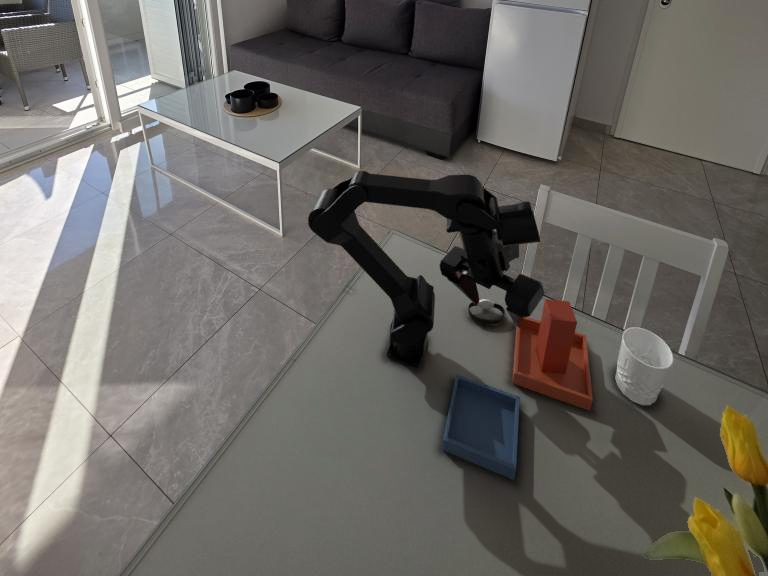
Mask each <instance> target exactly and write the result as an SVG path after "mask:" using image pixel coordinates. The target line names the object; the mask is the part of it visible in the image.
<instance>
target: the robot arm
mask: <svg viewBox="0 0 768 576" xmlns="http://www.w3.org/2000/svg"><path fill="white" fill-rule="evenodd" d="M498 202H499V201H498V198H497V196H496V195H494V194H493V193H492V192H491V191H489V190H488V189H487V188H485V187H484V185H483V184H482V182H481V181H480V180H479V179H478V177H476V176H474V175H472V174H449V175H446V176H442V177H440V178H436V179H427V178H426V179H425V178H416V177H406V176H399V175H388V174H379V173H378V174H377V173H369V172H368V171H367V170H358V171H357V172H355V173H354V174H352V175H351V176H350V177H348V178H345V179H343V180H341V181H339V182H338V183H337V184H336V185H334V186H333V187H332V188H326V189H324V190H322V191H321V192H319V194H318V196H317V199H316V201H315V203H314V205H313V206H312V208H311V211H310V212H309V213H308V214H309V215H308V217H307V225H308V227H309V229H310V231H312V233H314V234H315V235H316V236H317V237H319V238H320V239H321V240H322V241H324V242H325V243H327V244H331V245H336V246H340V247H341V248H342V249H343V250H344V251H345V252H346V253H347V254H348V255H349V256H350V257H351V258H352V259H353V261H354V262H356V264H357V265H358V266H359V267H360V268H361V269H362V270H363V271H364V272H365V273H366V274H367V276H369V278H370V279H371V280H373V282H374V283H375V284H376V285H377V286H378V287H379V288H380V289H381V290H382V291H383V293H385V295H387V296H388V298H389V299H390V301H391V304H392V307H393V309H394V310H393V311H394V312H393V314H392V315H393V316H392V321H391V322H390V326H389V327H390V328H389V345H388V348H387V350H386V353H385V355H386V357H387V358H388V359H391V360H393V361H397V362H399V363H402V364H405V365H408V366H409V367H413V368H418V367H420V362H421V359H423V358H424V356H425V352H426V349H427V342H428V333H430V332H431V331H432V330H433V329H434V325H435V308H436V307H435V305H436V294H435V291H434V289H435V288H434V286H433V285H432V284H431V283H429V282H428V281H427V280H426V279H425V277H424V276H423V275H422V274H419V275H418V276H417V277H412V276H408V275H407V274H405V272H404V271H403V270H402V269H401V268H400V267H399V266H398V265H397V264H396V262H395V261H394V260H393V259H392V258H391V257H390V256H389V255H388V254H387V252H386V251H384V250H383V248H381V246H380V245H379V244H378V243H377V242H376V241H375V239H374V238H373V237H372V236H370V235H369V233H368V232H367V231H366V230H365V229H364V228H363V227H362V226H361V224H360V223H359V219H358V217H357V214H356V210H357V208H359V207H360V206H361V205H363V204H365V203H371V204H377V205H378V204H380V205H388V206H395V207H396V206H398V207H404V208H413V209H421V210H429V211H432V212H436V213H437V214H439V215H440V216H442V217H443V218H445V219H446V228H445V229H446V230H445V231H446V233H448V234H451V233H459V237H460V241H461V244H462V247H460V246H456V245H455V246H453V247H452V248H451V249H450V250H449V251H448V252H447V253H446V255H445V256H443V258H442V259H441V260H440V262H439V270H440V273H441V276H443V277H445V278H446V279H447V281H448V282H450V283H452V285H454V286H455V287H456V288H457V289H458V290H459V291H460V292H462V294H464V295H465V296H466V297H467V298H468V299H469V300H470V302H471V303H472V302H473V303H474V304H475V305H477V304H478V303H479V300H480V295H479V290H478V286H477V285H479V286H482V287H484V288H486V289H487V290H491V288H492V287H493V286H495V287H496V288H499V289H501V290H502V291H505V296H504V302H505V305H506V306H507V307H505V310H506V312H507V313H508V315H509V316H510V318H511V320H512V322H513V323H514V325H515V327H516V326H517V327H518V328H520V327H521V325H522V323H523V319H524V317H527V318H530V317H531V315H532V314H533V312H534V311H535V309H536V308H537V307H538V305H539V303H540V302H541V300H542V299H543V297H544V296H545V289H544V286H543V283H542V281H540V280H537V279H535V278H533V277H531V276H529V275H526V274H523V273H519V274H518V275H517V277H516V278H513V277H511V276H509V275H507V274H504V273H505V272H508V271H509V270H510V268H511V265H510V263H511V262H512V261H514V260H515V259H518V258H520V245H526V244H527V245H528V244H533V243H541V237H540V233H539V229H538V226H537V221H536V217H535V214H534V211H533V208H532V205H531V202H530V201H521V202H518V203H515V204H514V203H513V204H508V205H501V206H500V205H499V203H498ZM504 271H505V272H504Z"/></svg>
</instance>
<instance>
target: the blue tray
mask: <svg viewBox="0 0 768 576" xmlns="http://www.w3.org/2000/svg"><path fill="white" fill-rule="evenodd" d="M520 398H521V397H520V396H519V395H515V394H513V393H511V392H507V391H505V390H502V389H499V388H497V387H494V386H492V385H489V384H485V383H482V382H480V381H477V380H475V379H471V378H469V377H465V376H463V375H460V374H455V378H454V382H453V388H452V393H451V398H450V404H449V409H448V414H447V417H446V424H445V428H444V434H443V438H442V439H443V440H442V446H441V447H442V448H441V450H442V451H444V452H445V453H448V454H451V455H453V456H455V457H458V458H459V459H460V458H461V459H462V460H465V461H467V462H470V463H472V464H475V465H477V466H479V467H482V468H484V469H487V470H489V471H491V472H494V473H496V474H498V475H501V476H503V477H506V478H508V479H510V480H512V481H514V480H515V477H516V473H517V460H518V458H517V457H518V442H519V440H518V438H519V420H520V400H521V399H520Z"/></svg>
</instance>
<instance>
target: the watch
mask: <svg viewBox="0 0 768 576" xmlns="http://www.w3.org/2000/svg"><path fill="white" fill-rule="evenodd" d="M473 307H479V308H480V309H482V310H483V309H484V310H489V309H492V308H494V309H497V310H499V311H500V313H501V314H502V317H499V318H498V319H487V318H486V319H485V318H480V317H478V316H476V315H474V314H473V313H472V311H471V308H473ZM505 310H506V309H505V308H504V307H503V305H502V304H499V303H495V302H493V301H492V300H491V299H488V298H482V299H479V303H478V304H477V305H475V304H474V303H473V302H472V301H471V302H470V303H469V305H468V310H467V311H468V315H469V317H470V319H472V320H473V321H475V322H476V323H479V324H482V325H486V326H490V325H497V324H500V323H501V322H502V321H503V320H504V317H505V314H506V311H505Z"/></svg>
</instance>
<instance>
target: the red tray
mask: <svg viewBox="0 0 768 576" xmlns="http://www.w3.org/2000/svg"><path fill="white" fill-rule="evenodd" d="M540 323H541V320H540V321H539V320H537V319H535V318H534V319H533V318H530V317H524V319H523V323H522V325H521V327H520V328H518V327H517V326H516V325H515V340H514V355H513V367H512V384H513V385H515V386H518V387H521V388H524V389H527V390H530V391H533V392H536V393H539V394H541V395H544V396H546V397H549V398H553V399H555V400H558V401H562V402H564V403H567V404H570V405H573V406H576V407H578V408H581V409H584V410H587V411H591V408H592V405H593V401H594V399H593V391H592V390H593V389H592V388H593V387H592V379H591V370H590V359H589V351H588V340H587V335H586V334H583V333H580V332H577V331H575V334H574V338H573V343H572V347H571V351H570V356H569V360H568V365H567V369H566V373H565V374H560V373H550V372H541V369H540V365H539V361H538V357H537V354H536V350H535V349H536V344H537V339H538V333H539V328H540Z"/></svg>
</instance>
